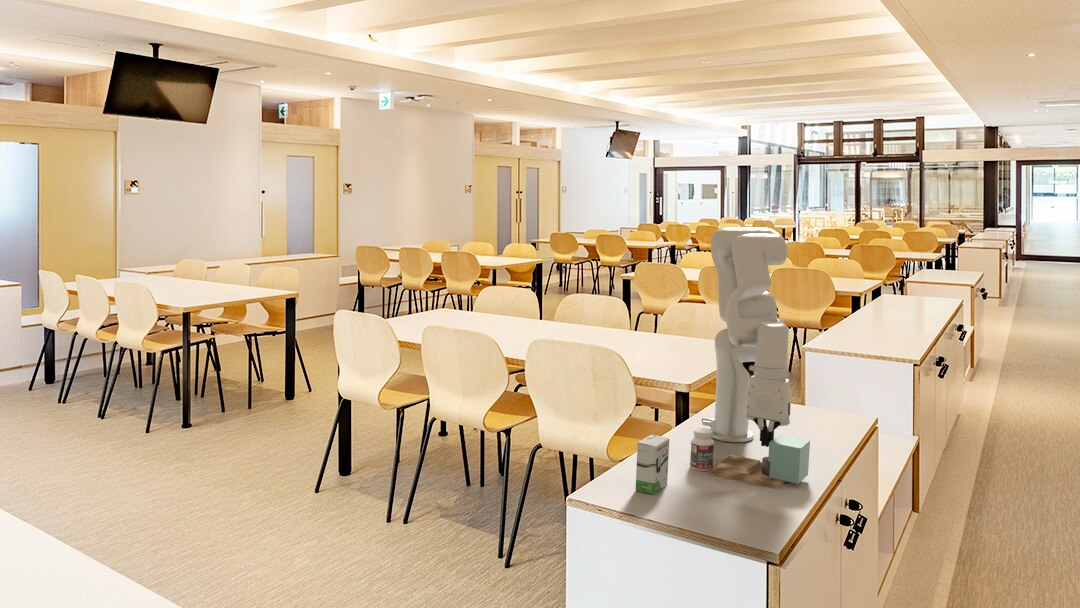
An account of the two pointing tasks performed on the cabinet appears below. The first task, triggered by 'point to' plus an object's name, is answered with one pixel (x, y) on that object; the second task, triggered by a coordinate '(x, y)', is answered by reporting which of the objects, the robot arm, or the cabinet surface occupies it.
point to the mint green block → (789, 458)
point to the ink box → (652, 464)
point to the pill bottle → (702, 450)
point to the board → (746, 471)
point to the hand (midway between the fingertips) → (766, 444)
